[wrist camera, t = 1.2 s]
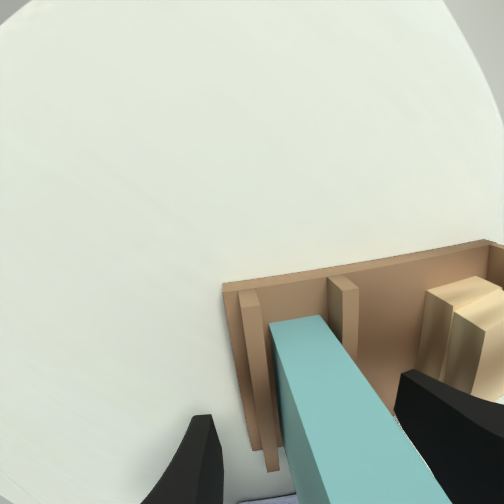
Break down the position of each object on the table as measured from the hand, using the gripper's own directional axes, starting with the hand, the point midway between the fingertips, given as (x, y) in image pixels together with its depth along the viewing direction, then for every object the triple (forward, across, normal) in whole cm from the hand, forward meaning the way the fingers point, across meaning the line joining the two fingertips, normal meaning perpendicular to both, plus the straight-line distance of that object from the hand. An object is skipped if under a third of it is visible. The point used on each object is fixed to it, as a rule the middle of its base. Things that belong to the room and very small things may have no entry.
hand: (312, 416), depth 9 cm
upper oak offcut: (0, -8, 0) cm, 8 cm away
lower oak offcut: (+2, -8, 0) cm, 8 cm away
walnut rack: (+3, -4, 0) cm, 6 cm away
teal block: (+2, 0, 0) cm, 2 cm away
